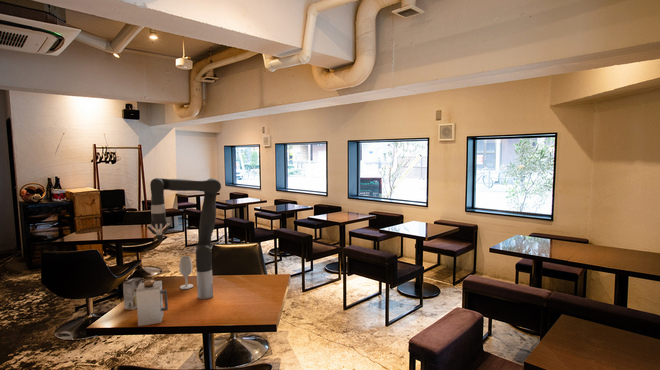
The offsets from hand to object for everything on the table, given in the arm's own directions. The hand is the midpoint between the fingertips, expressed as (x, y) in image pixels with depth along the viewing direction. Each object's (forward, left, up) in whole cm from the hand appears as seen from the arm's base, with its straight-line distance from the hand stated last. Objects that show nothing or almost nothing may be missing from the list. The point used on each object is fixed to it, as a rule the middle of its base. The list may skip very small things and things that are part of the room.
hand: (159, 240), depth 210 cm
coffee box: (+16, -4, -39) cm, 43 cm away
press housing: (+3, +20, -39) cm, 44 cm away
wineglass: (-12, -26, -39) cm, 49 cm away
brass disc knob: (+4, +20, -38) cm, 43 cm away
